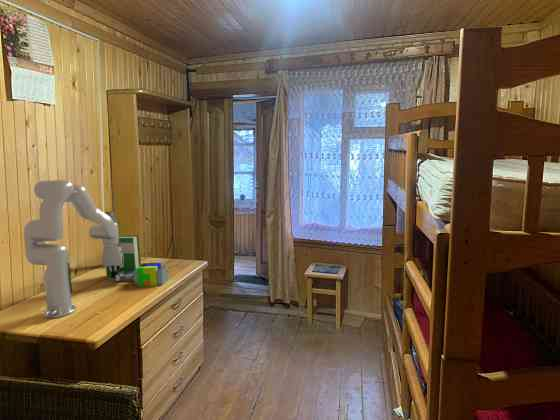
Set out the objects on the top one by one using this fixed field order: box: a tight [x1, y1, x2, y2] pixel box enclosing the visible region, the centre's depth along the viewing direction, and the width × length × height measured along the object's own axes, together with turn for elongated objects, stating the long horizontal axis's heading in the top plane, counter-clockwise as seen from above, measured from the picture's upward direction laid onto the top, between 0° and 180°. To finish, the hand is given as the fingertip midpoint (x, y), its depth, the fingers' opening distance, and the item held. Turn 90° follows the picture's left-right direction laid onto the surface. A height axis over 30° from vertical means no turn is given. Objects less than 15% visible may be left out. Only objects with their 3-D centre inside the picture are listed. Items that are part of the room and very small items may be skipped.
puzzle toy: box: [137, 262, 162, 287], centre depth 211 cm, size 10×10×10 cm
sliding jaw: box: [115, 267, 138, 286], centre depth 211 cm, size 9×12×8 cm
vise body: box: [113, 265, 169, 286], centre depth 212 cm, size 12×30×8 cm, turn 92°
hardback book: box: [102, 234, 142, 280], centre depth 222 cm, size 18×7×24 cm, turn 84°
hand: (114, 277), depth 211 cm, fingers closed
